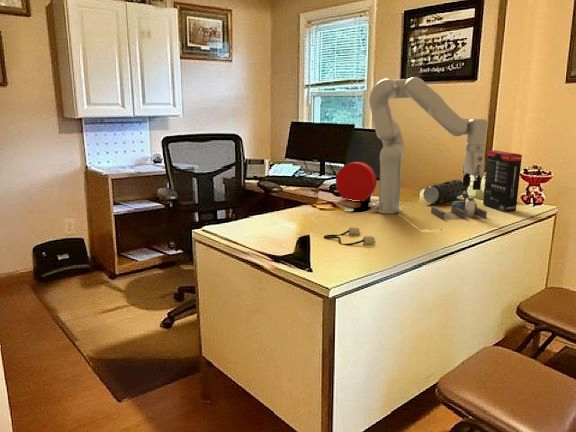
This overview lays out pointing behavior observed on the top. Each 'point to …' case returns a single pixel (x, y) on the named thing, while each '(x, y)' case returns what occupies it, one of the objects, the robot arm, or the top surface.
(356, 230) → the cable
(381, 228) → the top surface
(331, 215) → the top surface
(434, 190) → the muzzle brake
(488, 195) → the graphics card box
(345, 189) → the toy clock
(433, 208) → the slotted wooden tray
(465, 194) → the portable electronic device stand
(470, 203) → the cream plastic cylinder
